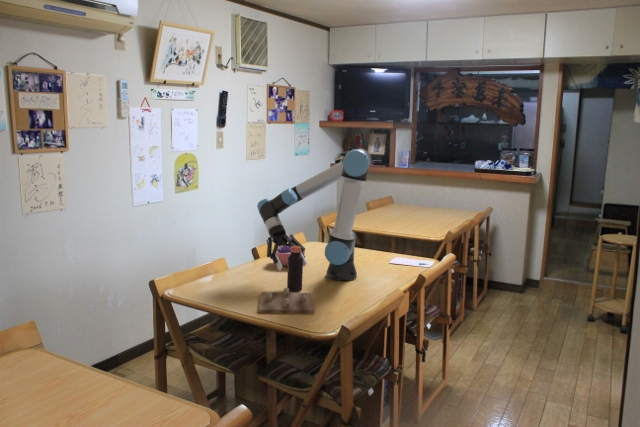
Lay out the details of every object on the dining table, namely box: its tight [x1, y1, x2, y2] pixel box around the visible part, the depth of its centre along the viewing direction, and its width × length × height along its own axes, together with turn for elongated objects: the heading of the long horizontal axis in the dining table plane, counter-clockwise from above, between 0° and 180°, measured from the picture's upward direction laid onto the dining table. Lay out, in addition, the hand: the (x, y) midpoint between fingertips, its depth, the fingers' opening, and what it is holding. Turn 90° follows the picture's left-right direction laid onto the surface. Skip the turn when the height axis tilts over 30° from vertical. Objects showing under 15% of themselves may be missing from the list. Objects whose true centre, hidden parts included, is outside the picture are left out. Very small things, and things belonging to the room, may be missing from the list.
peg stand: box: [258, 287, 315, 315], centre depth 224 cm, size 22×22×4 cm
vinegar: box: [286, 246, 304, 293], centre depth 243 cm, size 7×7×20 cm
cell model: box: [272, 246, 306, 267], centre depth 287 cm, size 17×20×11 cm
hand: (293, 267), depth 243 cm, fingers open, 13 cm apart
